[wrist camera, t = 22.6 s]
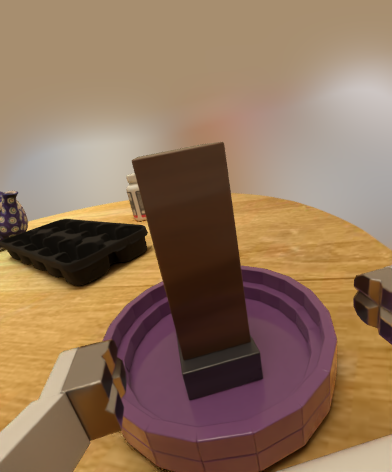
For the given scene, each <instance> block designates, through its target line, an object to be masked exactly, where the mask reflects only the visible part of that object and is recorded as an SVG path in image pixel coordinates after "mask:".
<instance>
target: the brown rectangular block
mask: <svg viewBox="0 0 392 472" xmlns="http://www.w3.org/2000/svg"><path fill="white" fill-rule="evenodd" d="M132 164H133V168H134V172H135V176H136V180H137V184H138V187H139V191H140V195H141V199H142V203H143V207H144V211H145V214H146V218H147V222H148V226H149V230H150V234H151V237H152V241H153V245H154V249H155V253H156V257H157V260H158V264H159V268H160V272H161V276H162V280H163V284H164V287H165V291H166V295H167V299H168V303H169V307H170V310H171V314H172V318H173V322H174V326H175V330H176V335H177V342H178V349H179V356H180V364H181V371H182V376H183V380H184V384H185V387H186V391H187V395H188V399H189V400H193V399H196V398H199V397H203V396H206V395H209V394H213V393H216V392H220V391H223V390H226V389H230V388H233V387H236V386H240V385H243V384H247V383H250V382H253V381H257V380H260V379H263V372H262V364H261V355H260V351H259V349H258V348H257V346H256V344H255V342H254V340H253V338H252V336H251V335H250V331H249V323H248V316H247V309H246V301H245V294H244V287H243V279H242V272H241V265H240V257H239V250H238V243H237V235H236V228H235V221H234V213H233V206H232V199H231V191H230V184H229V177H228V169H227V162H226V155H225V147H224V143H223V142H218V143H211V144H202V145H197V146H192V147H187V148H182V149H177V150H171V151H167V152H161V153H156V154H151V155H146V156H141V157H137V158H135V159H133V160H132Z"/></svg>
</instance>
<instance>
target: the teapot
mask: <svg viewBox="0 0 392 472" xmlns="http://www.w3.org/2000/svg"><path fill="white" fill-rule="evenodd" d="M17 194H18V192H17V191H8V192H5V193H3V192H0V241H2V240H4V239H6V238H9V237H12V236H15V235H18V234H21V233H24V232H26V230H27V228H28V220H27V216H26V214H25V211H24V209H23V207H22V206H21V205H20V203H19V202H18V201H17V200H16V196H17ZM1 249H4V248H2V247H1V245H0V250H1Z"/></svg>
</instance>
